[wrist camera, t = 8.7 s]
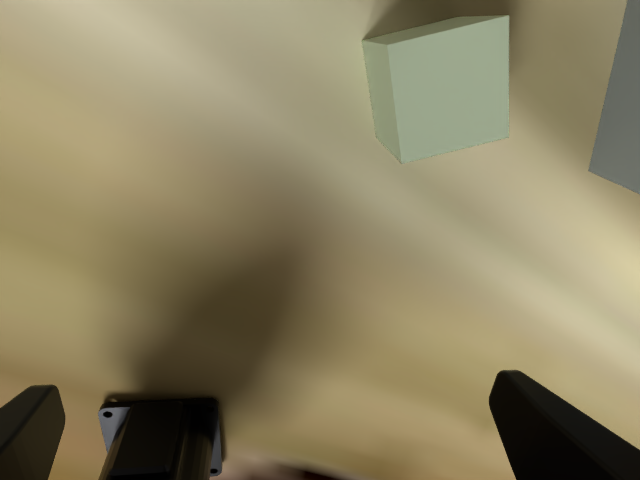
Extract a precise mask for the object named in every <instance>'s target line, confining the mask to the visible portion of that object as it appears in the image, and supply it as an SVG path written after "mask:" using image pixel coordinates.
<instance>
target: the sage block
mask: <svg viewBox="0 0 640 480" xmlns="http://www.w3.org/2000/svg"><path fill="white" fill-rule="evenodd" d="M362 46H363V53H364V59H365V66H366V73H367V79H368V86H369V93H370V99H371V106H372V113H373V119H374V126H375V133H376V138H377V139H378V140H379V141H380V142H381V143H382V144H383V145H384V146H385V147H386V148H387V149H388V150H389V151H390V152H391V153H392V154H393V155H394V156H395V157H396V158H397V159H398V160H399V162H400V163H401V164H403V163H407V162H411V161H416V160H420V159H424V158H428V157H432V156H436V155H440V154H444V153H448V152H452V151H456V150H460V149H464V148H468V147H472V146H476V145H480V144H485V143H489V142H493V141H497V140H501V139H505V138H509V15H499V16H464V17H455V18H451V19H447V20H443V21H439V22H435V23H431V24H427V25H422V26H418V27H414V28H410V29H406V30H402V31H398V32H394V33H390V34H386V35H382V36H378V37H373V38H369V39H365V40H362Z"/></svg>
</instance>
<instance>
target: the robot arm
mask: <svg viewBox="0 0 640 480" xmlns="http://www.w3.org/2000/svg"><path fill="white" fill-rule="evenodd" d="M209 406H210V407H209ZM489 406H490V410H491V413H492V415H493V418H494V421H495V424H496V426H497V429H498V432H499V435H500V437H501V440H502V443H503V446H504V448H505V451H506V454H507V457H508V459H509V462H510V465H511V467H512V470H513V472H514V475H515V477H516V480H640V450H639V449H637V448H636V447H634V446H633V445H631V444H630V443H628V442H627V441H625V440H624V439H622V438H621V437H619V436H618V435H616V434H615V433H613V432H612V431H610V430H609V429H607V428H606V427H604V426H603V425H601V424H600V423H598V422H597V421H595V420H594V419H592V418H591V417H589V416H588V415H586V414H584V413H583V412H581V411H580V410H578V409H577V408H575V407H574V406H572V405H571V404H569V403H568V402H566V401H565V400H563V399H562V398H560V397H559V396H557V395H556V394H554V393H553V392H551V391H550V390H548V389H547V388H545V387H544V386H542V385H541V384H539V383H538V382H536V381H535V380H533V379H532V378H530V377H529V376H527V375H525V374H524V373H522V372H521V371H518V370H502V371H500V372H499V373H498V374H497V376H496V379H495V382H494V385H493V387H492V390H491V393H490V396H489ZM108 411H109V412H108ZM98 416H99V420H100V425H101V429H102V433H103V437H104V441H105V445H106V450H107V457H106V460H105V463H104V465H103V468H102V471H101V474H100V477H99V479H98V480H209V478H210V476H217V475H219V474H220V473H221V472H222V449H221V430H220V411H219V402H218V401H217V400H216V399H214V398H196V399H173V400H151V401H128V402H108V403H104V404H102V406H101V408H100V410H99V412H98ZM64 426H65V413H64V409H63V405H62V401H61V397H60V394H59V390H58V388H57V387H56V386H55V385H33V386H30V387H28V388H27V389H25V390H24V391H23V392H21V393H20V394H19V395H17V396H16V397H15V398H13V399H12V400H11V401H9V402H8V403H6V404H5V405H4V406H2V407H1V408H0V480H48V477H49V474H50V471H51V468H52V464H53V461H54V458H55V455H56V452H57V449H58V445H59V442H60V439H61V436H62V433H63V430H64Z"/></svg>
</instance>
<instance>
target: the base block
mask: <svg viewBox="0 0 640 480" xmlns="http://www.w3.org/2000/svg"><path fill="white" fill-rule="evenodd" d="M588 171H590V172H592V173H594V174H596V175H598V176H601V177H603V178H605V179H607V180H609V181H612V182H614V183H616V184H618V185H621V186H623V187H625V188H627V189H629V190H632V191H634V192H636V193H638V194H640V0H628V1H627V5H626V10H625V14H624V18H623V23H622V27H621V31H620V36H619V40H618V44H617V49H616V53H615V57H614V62H613V66H612V70H611V75H610V79H609V83H608V88H607V92H606V96H605V101H604V105H603V109H602V114H601V118H600V122H599V127H598V131H597V135H596V140H595V144H594V148H593V153H592V157H591V161H590V166H589V170H588Z"/></svg>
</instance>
